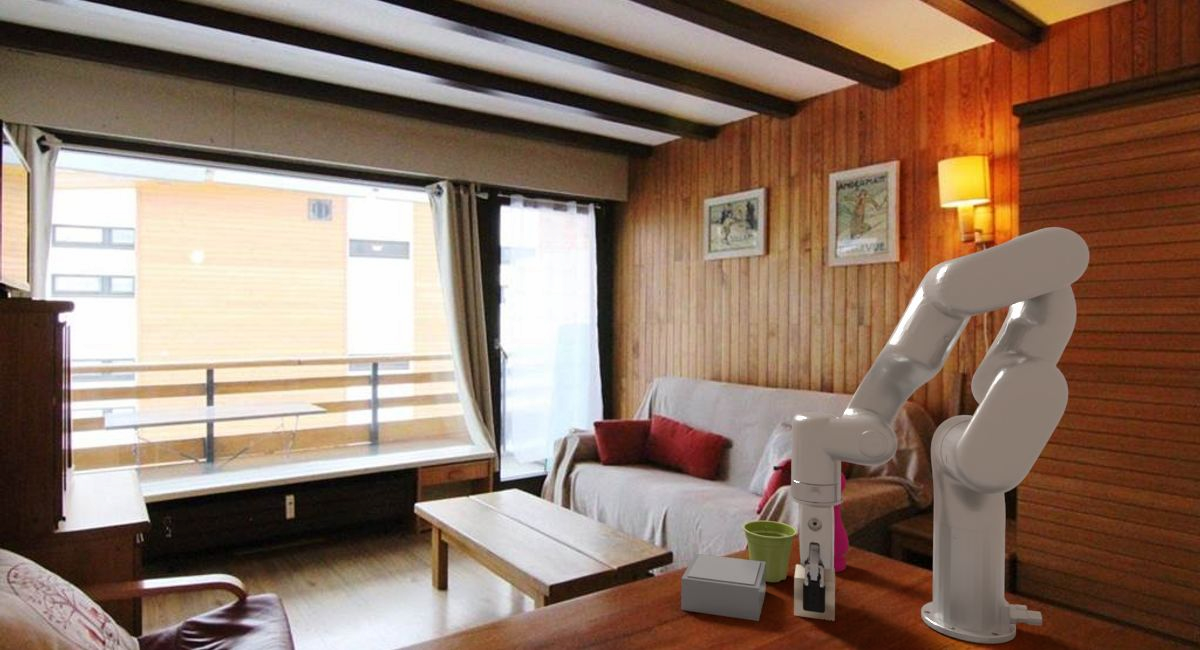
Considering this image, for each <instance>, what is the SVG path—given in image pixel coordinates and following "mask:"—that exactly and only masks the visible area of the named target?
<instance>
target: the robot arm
mask: <svg viewBox="0 0 1200 650" xmlns="http://www.w3.org/2000/svg"><path fill="white" fill-rule="evenodd" d="M1089 262H1090V250H1089V246H1088V244H1087V242H1086V241H1085V239H1083V238H1082V236H1081V235H1079V234H1078V233H1077V232H1075V231H1073V230H1070V229H1068V228H1064V227H1059V226H1057V227H1056V226H1052V227H1045V228H1040V229H1038V230H1034V231H1032V232H1028V233H1025V234H1021V235H1018V236H1016V237H1013V238H1012V239H1010V240H1009V241H1005V242H1003V243H1000V244H998V245H995V246H992V247H988V248H985V249H982V250H980V251H977V252H973V253H971V254H966V255H964V256H960V257H955V258H952V259H950V260H949V259H948V260H945V261H942V262H940V263H938V264H936V265H935V266H933V267H932V268H931V269H929V270H928V271H927V273H926V274H925V276H924V277H923V278H922V280H921V282H920V283H919V285H918V287H917V289H916V291H915V292H914V294H913V295H912V298H911V299H910V301H909V303H908V305H907V307H906V309H905V311H904V312H903V314H902V315H901V318H900V320H899V321H898V323H897V324H896V326H895V328H894V330H893V331H892V333H891V335H890V337H889V338H888V340H887V342H886V344H885V346H884V347H883V348H882V350H881V351H880V353H878V355H877V357H876V358H875V361H874V362H873V364H872V366H871V367H870V368H869V369H868V371H867V373H866V374H865V376H864V377H863V379H862V380H861V382H860V383H859V384H858V385H859V386H858V387H857V389H856V391H855V392H854V394H853V395H852V398H851V399H850V401H849V402H848V405H847V407H846V408H845V411H844V412H843V414H842V416H841V417H840V418H839V416H837V415H835V414H833V413H830V412H829V413H828V412H823V411H822V412H821V411H804V412H799V413H797V414H795V415H794V416H793V418H792V421H791V460H790V461H791V468H790V469H791V471H790V472H791V475H790V480H791V481H790V491H791V492H790V499H791V501H793V502H795V503H798V543H799V557H800V565H801V566H802V567H803V568H805V583H803V609H804V610H805V611H811V612H818V613H824V612H825V586H824V568H825V569H829V571H832V570H833V569H834V506H836V505H838V504H840V503H841V494H842V492H841V472H842V462H845V463H850V464H856V465H860V466H865V467H876V466H881V465H884V464H886V463H888V462H889V461H891V460H892V459H893V457H895V454H896V453H897V449H898V446H899V445H898V437H897V434H896V432H895V430H894V429H893V428H892V425H893V423H894V421H895V420H896V418H897V416H898V414H899V413H900V411H901V409H902V408H903V406H904V405H905V403H907V401H908V399H909V398H910V397H912V395H913V394H914V393H915V392H916V391H917V390H918V389H919V388H920V387H922V386H923V385H924V384H926V383H928V382H930V381H931V380H932V379H933V378H934V377H936V376H937V374H939V372H940V371H941V370H942V368H943V367H944V365H945V363H946V361H947V360H948V358H949V356H950V354H951V352H952V350H953V348H954V347H955V345H956V343H957V342H958V340H959V339H960V337H961V335H962V333H963V332H964V330H965V328H967V327H966V326H967V325H968V323H969V321H970V320H971V318H972V317H975V316H978V315H983V314H987V313H990V312H993V311H997V310H1000V309H1003V308H1007V307H1008V311H1007V314H1006V317H1005V320H1004V321H1003V323H1002V326H1001V327H1000V330H999V332H998V333H997V335H996V337H995V339H994V340H993V342H992V343H991V346H990V347H989V349H988V351H987V352H986V354H985V355H984V358H983V359H982V361H981V362H980V363H979V365H978V367H977V368H976V371H975V372H974V374H973V377H972V380H971V385H970V387H971V392H972V396H973V397H974V398H973V399H974V400H975V401H976V403H978V406H977V408H976V409H975V411H974V413H973V415H972V414H971V415H970V414H969V415H968V414H961V415H954V416H952V417H949V418H947V419H946V420H944V421H943V422H942V423H941V424H940V425H938V427H937V428H936V429H935V431H934V433H933V436H932V439H931V444H930V445H931V446H930V460H931V470H932V471H931V472H932V481H933V484H932V485H933V530H932V531H933V533H932V535H933V539H932V540H933V541H932V543H933V546H932V548H933V549H932V601H929V602H926V604H924V605H923V606H922V607H921V610H920V611H921V613H920V615H921V619H922V620H923V622H924V623H925V624H926V625H927V626H928V627H930V628H931V629H933V630H934V631H936V632H939V633H940V634H944V635H945V636H948V637H951V638H955V639H957V640H960V641H966V642H970V643H977V644H986V645H987V644H989V645H990V644H994V645H995V644H1003V643H1007V642H1010V641H1011V640H1013V639H1014V638H1015V637H1016V635H1017V627H1016V625H1017V624H1018V623H1022V624H1027V625H1033V626H1039V627H1041V626H1042V625H1043V616H1042V613H1041V611H1036V610H1028V607H1027V605H1023V604H1011V603H1009V601H1007V599H1006V598H1005V569H1006V568H1005V566H1006V565H1005V563H1006V561H1005V559H1006V553H1005V552H1006V502H1005V501H1006V500H1005V499H1006V498H1005V493H1007V492H1010V491H1011V490H1013V489H1015V488H1016V487H1017V486H1019V485H1020V484H1021V482H1023V480H1024V479H1025V478H1026V477H1027V475H1028V474H1029V473H1030V471H1031V469H1032V467H1034V465H1035V463H1036V462H1037V460H1038V458H1039V457H1040V454H1041V453H1042V452H1043V450H1044V448H1045V447H1046V444H1048V442H1049V440H1050V439H1051V436H1052V434H1053V433H1054V431H1055V430H1056V428H1057V426H1058V425H1059V423H1060V421H1061V419H1062V417H1063V416H1064V414H1065V411H1066V409H1067V404H1068V400H1069V387H1068V383H1067V380H1066V377H1065V376H1064V374H1063V372H1061V369H1059V368H1058V367H1057V364H1058V363H1059V361H1060V360H1061V357H1062V355H1063V353H1064V350H1065V349H1066V346H1067V345H1068V343H1069V341H1070V339H1071V337H1072V336H1073V335H1072V334H1073V332H1074V329H1075V326H1076V322H1077V303H1076V299H1075V293H1074V292H1073V291H1074V290H1073V289H1072V286H1071V285H1072V284H1073V283H1075V282H1077V281H1078V280H1079V279H1080V278H1081V277H1082V276H1083V274H1084V273H1085V272H1086V271H1087V269H1088V265H1089ZM841 504H842V503H841ZM841 504H840V505H841ZM809 570H810V572H809ZM818 571H820V573H818Z"/></svg>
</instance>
